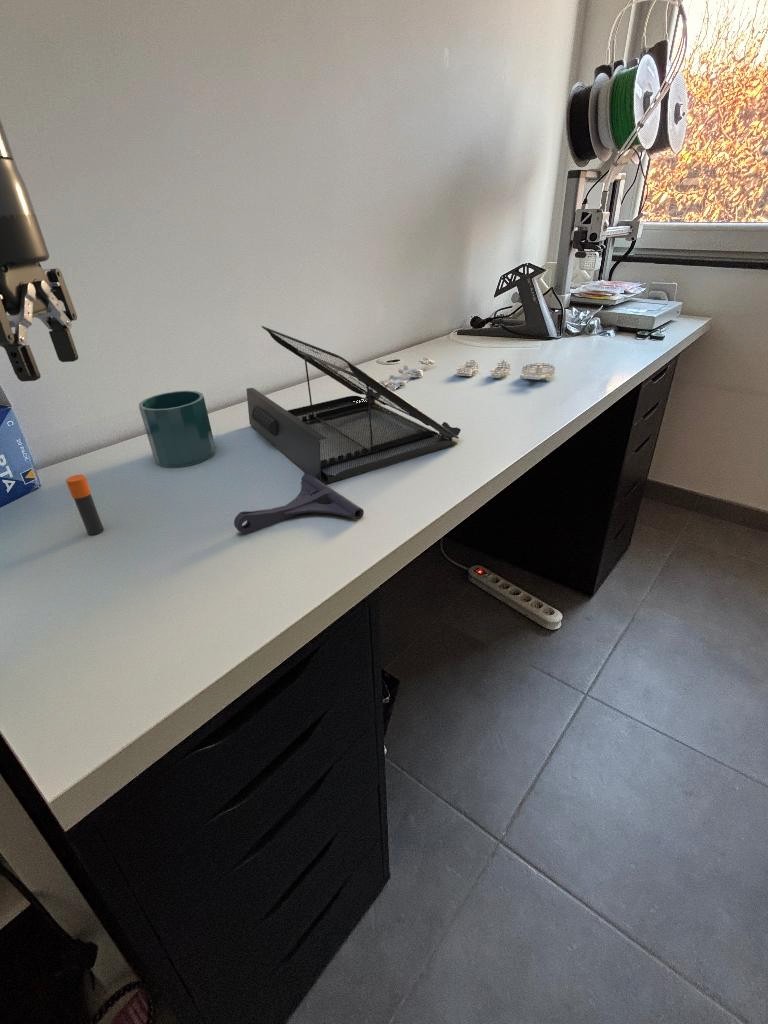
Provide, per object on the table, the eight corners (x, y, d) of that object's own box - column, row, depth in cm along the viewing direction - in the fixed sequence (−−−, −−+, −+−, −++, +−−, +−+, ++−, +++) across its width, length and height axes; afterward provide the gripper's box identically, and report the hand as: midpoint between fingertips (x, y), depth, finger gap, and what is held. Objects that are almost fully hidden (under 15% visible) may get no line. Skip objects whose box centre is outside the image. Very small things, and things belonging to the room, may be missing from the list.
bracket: (218, 514, 74) (213, 496, 72) (311, 481, 81) (309, 465, 79) (261, 560, 63) (257, 540, 62) (364, 518, 70) (362, 499, 69)
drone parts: (528, 408, 105) (529, 393, 104) (377, 393, 121) (375, 379, 120) (558, 373, 122) (559, 359, 120) (421, 364, 138) (421, 351, 136)
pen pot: (146, 469, 88) (128, 411, 84) (167, 445, 97) (153, 392, 92) (206, 466, 88) (192, 408, 83) (222, 442, 97) (210, 389, 92)
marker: (83, 536, 70) (62, 482, 66) (91, 527, 72) (71, 474, 68) (99, 535, 70) (79, 481, 66) (107, 526, 72) (87, 473, 68)
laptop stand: (463, 442, 91) (466, 332, 82) (315, 487, 79) (298, 364, 70) (369, 397, 116) (362, 309, 107) (246, 426, 104) (227, 330, 95)
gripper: (0, 215, 61) (52, 357, 69) (-97, 216, 49) (-20, 389, 57) (64, 211, 61) (109, 354, 69) (-17, 210, 48) (49, 385, 56)
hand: (51, 370), depth 63 cm, fingers open, 8 cm apart
